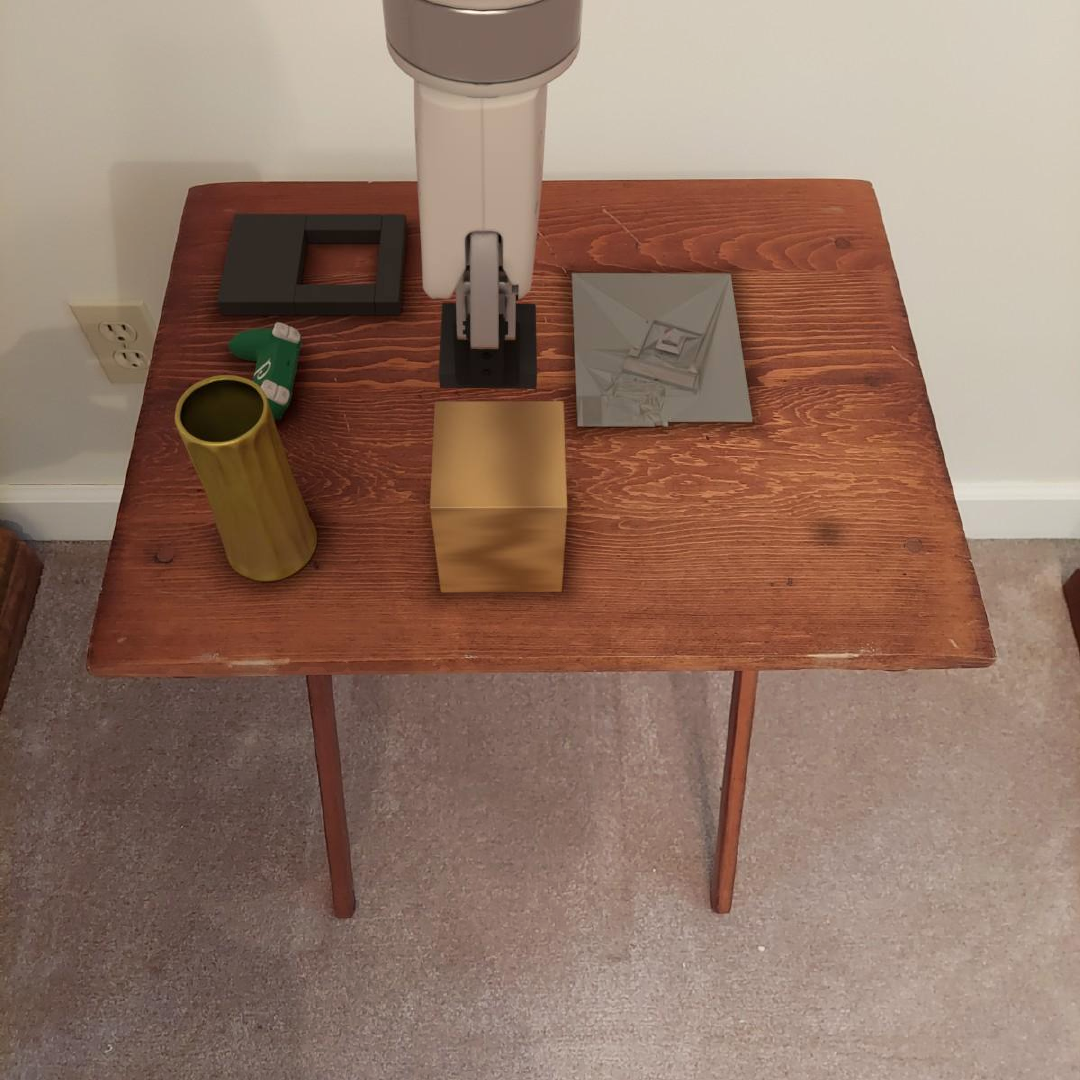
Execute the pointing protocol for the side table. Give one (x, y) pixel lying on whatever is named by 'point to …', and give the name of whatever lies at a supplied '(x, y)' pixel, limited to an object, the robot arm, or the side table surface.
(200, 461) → the vase
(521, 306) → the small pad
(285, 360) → the gaming controller
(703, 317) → the grey flat square slab
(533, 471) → the stand
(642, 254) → the side table surface
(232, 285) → the base pad
